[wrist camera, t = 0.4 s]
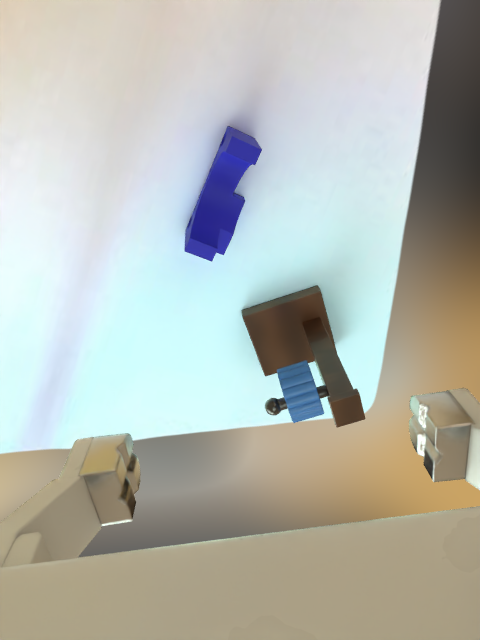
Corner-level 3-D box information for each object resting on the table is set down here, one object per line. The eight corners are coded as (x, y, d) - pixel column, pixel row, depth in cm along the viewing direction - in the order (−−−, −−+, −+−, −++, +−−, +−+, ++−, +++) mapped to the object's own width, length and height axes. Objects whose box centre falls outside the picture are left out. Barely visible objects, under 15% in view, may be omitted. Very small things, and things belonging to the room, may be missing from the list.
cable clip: (222, 244, 53) (225, 266, 48) (185, 230, 52) (184, 251, 47) (267, 144, 48) (276, 156, 43) (227, 125, 46) (232, 135, 41)
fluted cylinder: (287, 397, 54) (297, 434, 49) (273, 358, 51) (282, 394, 46) (315, 388, 54) (328, 425, 48) (303, 349, 51) (315, 383, 45)
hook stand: (263, 369, 63) (283, 466, 49) (240, 310, 58) (255, 398, 43) (334, 347, 62) (376, 438, 48) (317, 285, 57) (359, 366, 42)
